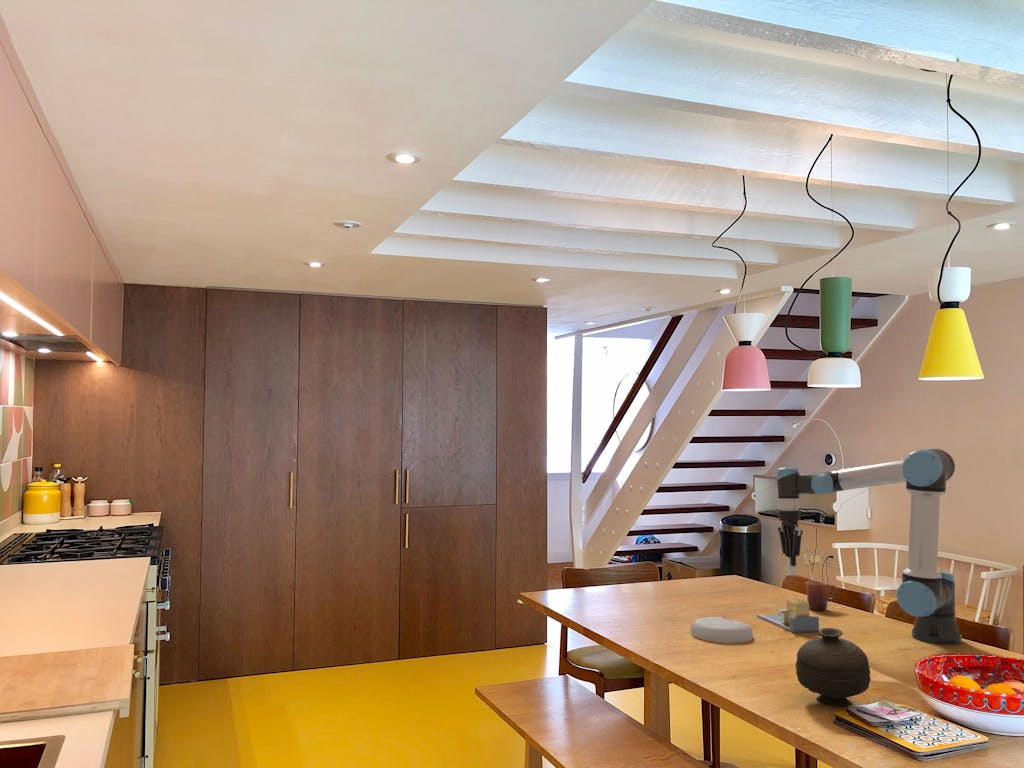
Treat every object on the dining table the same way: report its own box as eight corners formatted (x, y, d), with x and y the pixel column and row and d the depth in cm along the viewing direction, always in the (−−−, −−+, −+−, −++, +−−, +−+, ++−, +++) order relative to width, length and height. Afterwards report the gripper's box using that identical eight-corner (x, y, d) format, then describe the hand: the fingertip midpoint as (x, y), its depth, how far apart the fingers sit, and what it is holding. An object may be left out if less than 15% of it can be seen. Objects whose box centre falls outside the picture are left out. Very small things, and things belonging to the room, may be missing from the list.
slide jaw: (805, 624, 295) (804, 609, 296) (781, 625, 293) (781, 610, 294) (802, 623, 297) (801, 608, 297) (778, 624, 295) (778, 609, 296)
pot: (801, 718, 205) (799, 636, 206) (791, 695, 222) (790, 620, 223) (878, 724, 201) (876, 640, 202) (863, 700, 218) (861, 623, 219)
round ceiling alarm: (672, 633, 290) (671, 615, 291) (737, 629, 296) (736, 612, 296) (704, 652, 266) (704, 633, 266) (774, 648, 272) (774, 628, 272)
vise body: (819, 634, 287) (818, 616, 288) (793, 636, 285) (792, 618, 286) (780, 618, 312) (780, 601, 312) (756, 619, 310) (756, 603, 310)
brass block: (809, 629, 289) (809, 602, 289) (796, 629, 288) (796, 603, 288) (799, 625, 295) (799, 599, 295) (787, 625, 294) (786, 600, 294)
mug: (808, 611, 323) (808, 585, 323) (803, 606, 332) (802, 580, 332) (840, 612, 322) (840, 585, 322) (834, 607, 330) (833, 581, 331)
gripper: (808, 510, 300) (811, 576, 298) (788, 508, 313) (791, 571, 311) (789, 511, 298) (792, 578, 297) (770, 508, 311) (773, 572, 309)
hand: (791, 574), depth 304 cm, fingers closed
